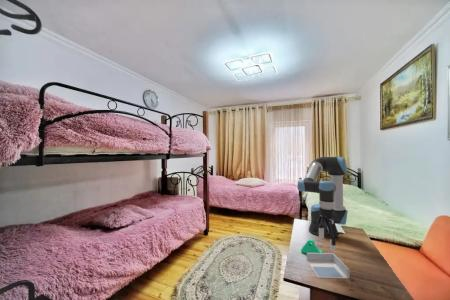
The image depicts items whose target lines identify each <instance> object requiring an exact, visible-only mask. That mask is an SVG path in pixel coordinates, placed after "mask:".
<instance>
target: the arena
mask: <svg viewBox="0 0 450 300" xmlns="http://www.w3.org/2000/svg"><path fill="white" fill-rule="evenodd" d="M306 262H307V264H308V265H309V266H310V268H311V270H313V272H314V274H315V275H316V276H317V278H318V279H345V280H346V279H350V278H351V276H350V275H351V274H350V273H351V271H350V268H349V267H348V266H347V265H346V264H345V263H344V262H343V261H342V260H341V259H340V258H339V257H338V256H337V255H336V254H335V253H334V252H332V253H331V252H322V253H306Z"/></svg>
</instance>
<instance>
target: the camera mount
mask: <svg viewBox="0 0 450 300" xmlns="http://www.w3.org/2000/svg"><path fill="white" fill-rule="evenodd" d="M300 252H301V253H302V254H303V253H304V254H307V253H323V250H322V249H319V248H318V247H317V246H316V242H315V240H314V239H312V238H308V240H307V241H306V243H305V244H304V245H303V246H302V248H301V249H300Z"/></svg>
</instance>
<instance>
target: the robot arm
mask: <svg viewBox="0 0 450 300" xmlns="http://www.w3.org/2000/svg"><path fill="white" fill-rule="evenodd" d="M322 172H327V174H328V175H329V180H320V181H317V180H318V177H319V176H320V173H322ZM346 173H348V165H347V161H346V158H345V157H343V156H320V157H317V158H315V159H314V160H312V161H311V162H310V163H309V168H308V171H307V172H306V175H305V177H304V178H303V179H299V180H297V190H298V191H299V192H304V193H305V192H307V193H312V194H313V193H315V194H316V193H317V194H318V195H319V197H318V198H319V202H318V203H315V204H312V205H311V206H310V223H309V226H308V232H309V233H311V234H312V235H314V236H318V239H319V240H324V239H325V237H327V236H330V237H329V251H330V252H331V251H332V252H334V251H337V241H338V240H339V236H338V235H339V234H338V232H337V227H336V224H338V225H343V226H345V225H346V224H347V217H348V213H349V210H347V209H346V207H345V205H344V185H343V184H344V183H343V182H344V179H343V177H344V176H345V175H346Z"/></svg>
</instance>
